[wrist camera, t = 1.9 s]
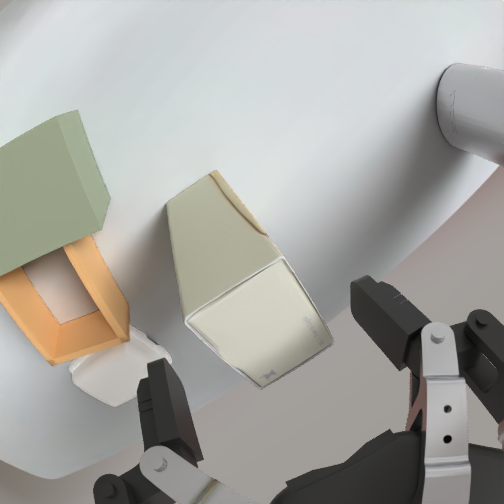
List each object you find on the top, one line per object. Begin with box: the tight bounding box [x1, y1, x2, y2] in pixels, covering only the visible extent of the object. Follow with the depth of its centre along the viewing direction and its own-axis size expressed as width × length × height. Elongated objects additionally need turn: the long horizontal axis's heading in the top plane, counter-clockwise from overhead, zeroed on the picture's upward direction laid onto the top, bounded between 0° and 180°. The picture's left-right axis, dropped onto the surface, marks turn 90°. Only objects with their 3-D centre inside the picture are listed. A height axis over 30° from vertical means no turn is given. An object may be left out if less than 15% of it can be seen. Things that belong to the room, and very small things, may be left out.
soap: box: [69, 324, 172, 407], centre depth 25 cm, size 9×7×3 cm
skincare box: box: [166, 170, 334, 390], centre depth 17 cm, size 6×4×12 cm
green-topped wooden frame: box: [0, 110, 130, 366], centre depth 17 cm, size 12×15×5 cm
